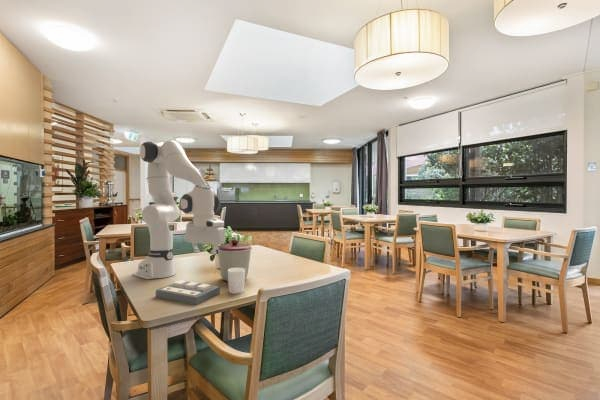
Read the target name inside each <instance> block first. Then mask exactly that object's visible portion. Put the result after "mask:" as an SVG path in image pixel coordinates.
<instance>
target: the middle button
mask: <svg viewBox="0 0 600 400" xmlns="http://www.w3.org/2000/svg"><path fill="white" fill-rule="evenodd" d="M189 282H190V283H187V284H185V288H187V289H194V288H197V286H199V284H200V283H199V282H194V281H189Z"/></svg>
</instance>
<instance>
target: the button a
mask: <svg viewBox="0 0 600 400" xmlns="http://www.w3.org/2000/svg"><path fill="white" fill-rule="evenodd" d="M187 282H188V280H183V279H182V280H176V281H174V282H173V284H174V286H175V287H183V286H185V284H187Z"/></svg>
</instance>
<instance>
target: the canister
mask: <svg viewBox="0 0 600 400" xmlns="http://www.w3.org/2000/svg"><path fill="white" fill-rule="evenodd" d="M252 249H253V247H252V246H251V245H250V244H246V243H239V239H236V238H233V239H231V242H230V243H223V244H220V245H218V247H217V249H216V251H217V252H218V254H217V255H218V264H219V273H220V277H221V279H222V280H224V281H225V282H228V269H231V268H244V269H245V279H246V278H247V276H248V274H249V266H250V261H251V251H252Z"/></svg>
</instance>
